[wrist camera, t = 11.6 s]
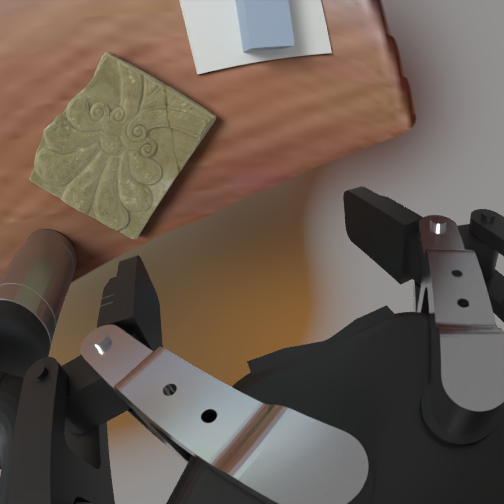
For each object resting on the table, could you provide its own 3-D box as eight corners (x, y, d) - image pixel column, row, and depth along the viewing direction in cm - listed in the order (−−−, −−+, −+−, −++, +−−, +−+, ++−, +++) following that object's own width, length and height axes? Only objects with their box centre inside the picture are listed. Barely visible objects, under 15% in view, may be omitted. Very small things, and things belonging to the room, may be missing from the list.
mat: (197, 74, 36) (197, 74, 35) (173, -24, 28) (174, -25, 27) (329, 53, 38) (331, 52, 38) (309, -36, 30) (310, -37, 30)
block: (231, -27, 29) (238, -37, 26) (271, -28, 30) (281, -37, 26) (243, 52, 35) (251, 48, 32) (283, 48, 36) (294, 45, 33)
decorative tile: (216, 115, 40) (221, 117, 37) (136, 234, 44) (135, 245, 41) (102, 44, 31) (97, 40, 28) (29, 173, 35) (20, 181, 32)
